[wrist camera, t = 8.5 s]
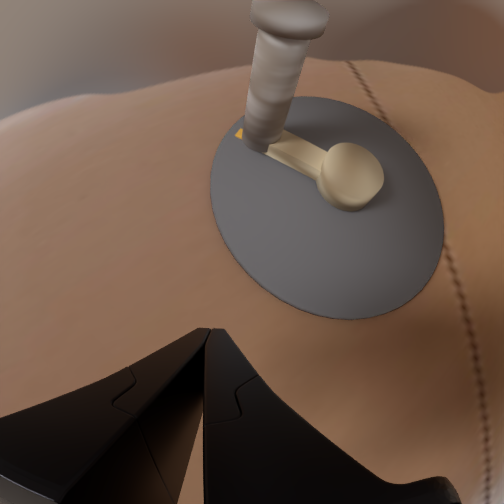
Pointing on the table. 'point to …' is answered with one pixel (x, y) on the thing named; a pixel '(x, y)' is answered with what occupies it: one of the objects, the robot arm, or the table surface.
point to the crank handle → (279, 101)
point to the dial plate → (329, 218)
